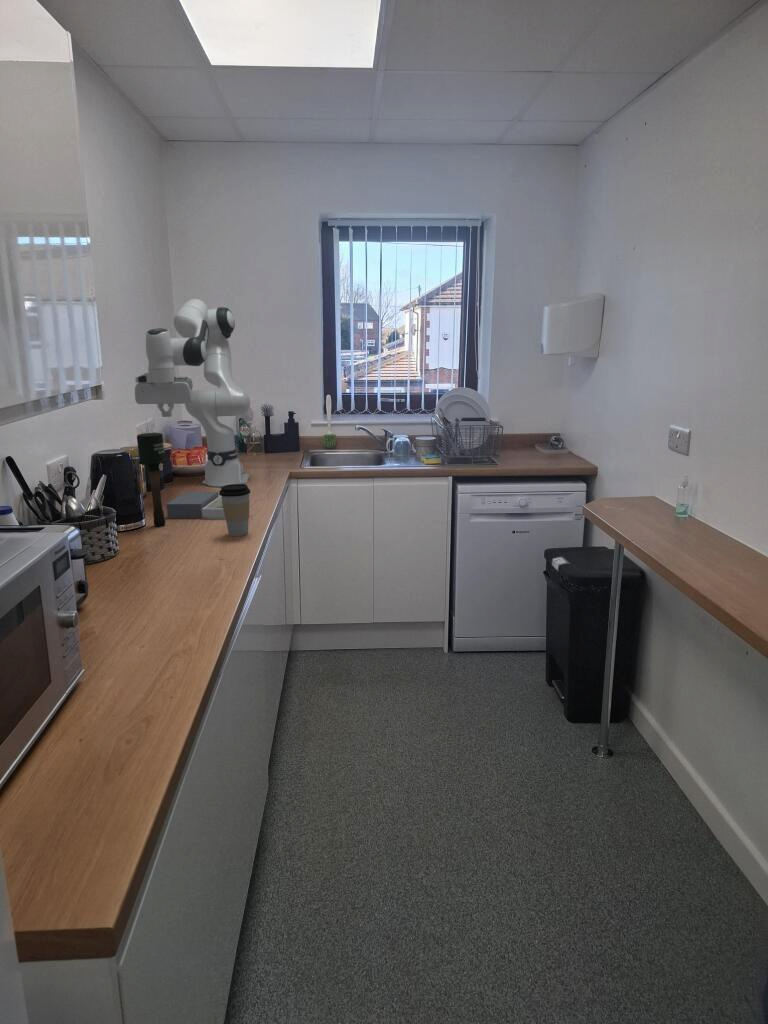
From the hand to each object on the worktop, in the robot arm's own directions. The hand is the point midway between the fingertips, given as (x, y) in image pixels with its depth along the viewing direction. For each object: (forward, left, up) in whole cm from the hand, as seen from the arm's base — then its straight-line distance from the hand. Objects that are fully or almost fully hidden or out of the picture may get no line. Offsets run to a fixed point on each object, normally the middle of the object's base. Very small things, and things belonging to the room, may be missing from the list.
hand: (166, 416), depth 237 cm
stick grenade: (+27, +5, -33) cm, 43 cm away
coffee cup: (+36, +34, -33) cm, 59 cm away
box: (+9, +22, -33) cm, 40 cm away
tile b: (+13, +22, -29) cm, 39 cm away
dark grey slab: (+9, +10, -33) cm, 35 cm away
